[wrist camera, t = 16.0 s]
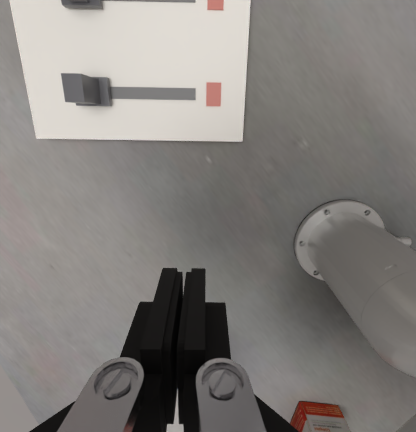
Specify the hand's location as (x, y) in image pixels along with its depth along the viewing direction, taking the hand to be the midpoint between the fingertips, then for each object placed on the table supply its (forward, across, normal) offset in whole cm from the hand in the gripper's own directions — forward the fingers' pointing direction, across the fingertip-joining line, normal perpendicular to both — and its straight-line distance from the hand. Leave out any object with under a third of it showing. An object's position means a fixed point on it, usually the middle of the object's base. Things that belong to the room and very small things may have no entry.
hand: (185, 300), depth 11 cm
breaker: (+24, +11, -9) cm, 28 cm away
